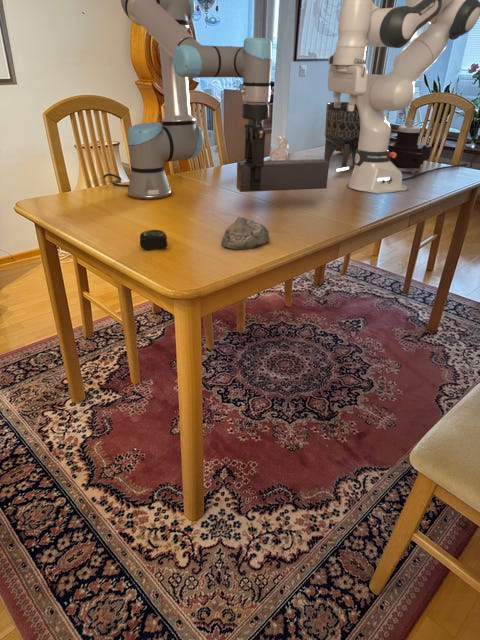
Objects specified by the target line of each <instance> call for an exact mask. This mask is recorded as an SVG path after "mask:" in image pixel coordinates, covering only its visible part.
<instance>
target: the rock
mask: <svg viewBox="0 0 480 640" xmlns="http://www.w3.org/2000/svg"><path fill="white" fill-rule="evenodd" d="M269 241H270V233H269V230H268V229H267V228H266V226H265V225H263V224H261V223H259V222H256V221H255V220H252V219H247V218H245V217H241V216H238V217H237V218H236V219H235V221H234V222H233V223H232V224H231V225H229V226H228V227H227V228H226V229H225V231H224V233H223V236H222V239H221V244H222V247H224V248H229V249H231V250H245V249H254V248H257V247H259V246H260V245H264V244H266V242H269Z"/></svg>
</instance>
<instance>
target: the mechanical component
mask: <svg viewBox="0 0 480 640" xmlns="http://www.w3.org/2000/svg"><path fill="white" fill-rule="evenodd" d="M414 124H415V119H407V121H406V125H399V126H398V127H397V133H396V139H395V142H393V143H392V142H391V143H389V145H388V151H390V152H395V154H397V156H396V157H395V158H392V157H390V161H391V162H392V163H393V164H394V165H395V166H396V167H397V168H398V169H399V170H400V171H401V172H410V174H415V173H416V171H419V170H420V169H421V168H423V166H424V162H425V161H428V160H430V157H431V154H432V148H433V146H432V145H429V144H427V143H425V142H420V141H419V137H420V133H421V129H422V128H421V127H420V126H416V125H414Z"/></svg>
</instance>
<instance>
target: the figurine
mask: <svg viewBox="0 0 480 640" xmlns="http://www.w3.org/2000/svg"><path fill="white" fill-rule="evenodd" d="M282 138H283V139H282ZM275 139H276V141H277V142H278V147H275V148H273V149H272V151H271V152H270V153H269V155H268V156H269V157H268V158H266V160H265V161H271V160H289V154H288V150H289V146H290V145H289V144H288V142H289V140H288V139H287V137H285V135H282V137H281V136H280V135H279V134H277V135H276V137H275ZM282 140H283V141H282Z"/></svg>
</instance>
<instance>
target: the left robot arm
mask: <svg viewBox="0 0 480 640" xmlns="http://www.w3.org/2000/svg"><path fill="white" fill-rule="evenodd" d="M195 3H196V2H195V0H120V4H121V8H122V10H123V12H124V14H125V15H126V17H128V19H129V20H130V21H131V22H132V23H133V24H135V25H138V26H141V27H142V28H143V29H144V30H145V31H146V32H147V33H148V34H149V36H151V38H153V39H154V41H156V42H157V44H158V45H159V46H158V47H159V57H160V67H161V80H162V89H163V100H164V109H165V116H164V117H163V118H162V119H161V122H157V121H151V122H142V123H138V124H134V125H132V126H130V127H129V128H128V130H127V146H128V154H129V163H130V164H129V165H130V177H129V184H124V183H123V184H122V183H120V182H121V181H122V180H123V179H122V178H121V176H118V175H116V174H114V173H106V174H104V175H103V177H102V178H106V177H114V178H117V180H114V181H113V182H112V185H113V186H117V187H123V188H124V187H127V196H128V197H130V198H132V199H137V200H146V201H147V200H161V199H165V198H167V197H170V196H171V195H172V188H171V185H170V184H169V180H168V177H167V174H166V170H165V169H166V167H165V163H169V162H170V163H171V162H176V161H188V160H192V159H196V158H197V157H198V156H199V155H200V153H201V152H202V150H203V146H204V134H203V131H202V128H201V126H200V125H198V124H196V118H195V117H194V116H193V115H192V114H191V104H190V103H191V101H190V90H189V79H195V78H196V79H197V78H198V79H202V78H237V79H238V78H240V79H242V89H241V90H240V93H241V94H242V101H243V102H244V103H243V104H242V105H241V106H242V107H241V117H242V118H243V119H244V120H248V122H247V124H246V123H245V125H244V132H245V133H244V134H245V135H244V160H245V161H252V162H253V165H252V166H250V168H251V191H255V190H260V180H261V168H262V167H263V166H264V161H265V142H266V134H267V132H266V131H267V130H266V129H264V126H263V120H268V119H269V117H270V105H269V104H268V103H270V101H271V77H272V76H271V75H272V59H273V43H272V40H271V39H270V38H267V37H246V38H244V40H243V46H233V45H204V44H201V43H200V42H199V41H198V40H196V39H195V38H194V37H193V36H192V35H191V34H190V33H189V32H188V30H189V27H190V24H189V23H191V21H193V19H194V13H195V11H196V4H195Z"/></svg>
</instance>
